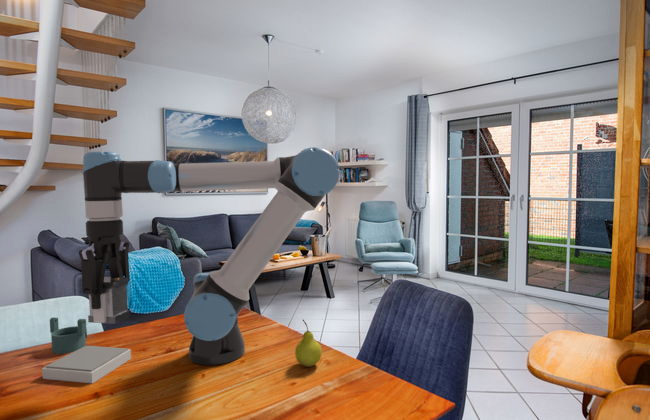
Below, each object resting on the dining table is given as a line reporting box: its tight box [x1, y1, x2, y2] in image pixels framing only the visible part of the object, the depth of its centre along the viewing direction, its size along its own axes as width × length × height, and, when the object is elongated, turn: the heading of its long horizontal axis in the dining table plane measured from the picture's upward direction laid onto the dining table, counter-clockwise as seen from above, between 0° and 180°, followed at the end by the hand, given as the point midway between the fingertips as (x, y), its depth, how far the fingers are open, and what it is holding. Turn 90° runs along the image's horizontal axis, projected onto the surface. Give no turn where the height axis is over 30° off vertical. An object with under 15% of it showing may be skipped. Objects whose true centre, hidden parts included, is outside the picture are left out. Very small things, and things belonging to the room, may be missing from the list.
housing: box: [87, 276, 131, 325], centre depth 93 cm, size 7×5×10 cm
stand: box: [41, 345, 132, 384], centre depth 103 cm, size 14×14×3 cm
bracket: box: [49, 317, 88, 355], centre depth 117 cm, size 9×9×9 cm
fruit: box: [294, 319, 323, 368], centre depth 104 cm, size 7×7×12 cm
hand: (109, 317), depth 94 cm, fingers closed on housing, 5 cm apart
